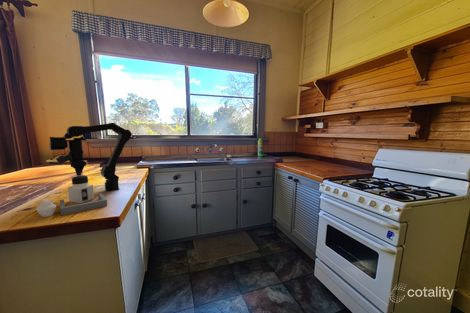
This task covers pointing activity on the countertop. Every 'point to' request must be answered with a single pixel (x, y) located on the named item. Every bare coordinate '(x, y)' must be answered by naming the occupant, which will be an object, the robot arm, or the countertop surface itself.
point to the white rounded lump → (46, 208)
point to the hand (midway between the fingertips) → (78, 176)
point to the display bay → (83, 205)
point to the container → (80, 190)
